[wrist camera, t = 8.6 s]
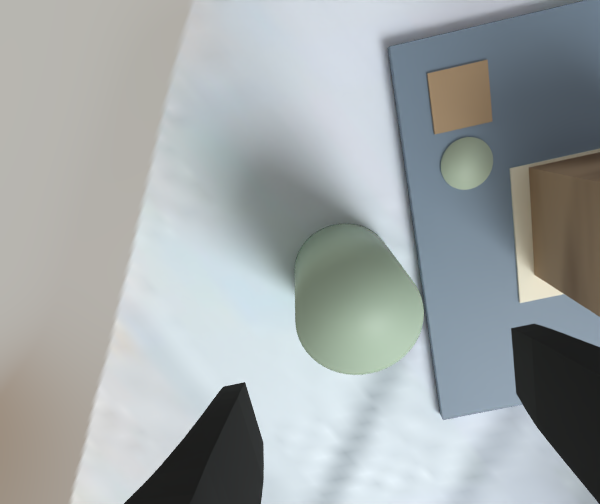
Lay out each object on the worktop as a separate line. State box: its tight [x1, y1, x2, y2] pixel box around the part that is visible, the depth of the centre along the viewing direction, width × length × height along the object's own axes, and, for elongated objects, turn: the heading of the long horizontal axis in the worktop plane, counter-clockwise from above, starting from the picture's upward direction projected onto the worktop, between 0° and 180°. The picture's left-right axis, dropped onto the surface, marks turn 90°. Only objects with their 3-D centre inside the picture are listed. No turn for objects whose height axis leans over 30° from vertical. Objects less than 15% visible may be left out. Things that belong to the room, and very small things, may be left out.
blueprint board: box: [388, 0, 600, 420], centre depth 19 cm, size 15×18×1 cm
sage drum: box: [295, 224, 424, 375], centre depth 18 cm, size 5×5×5 cm
